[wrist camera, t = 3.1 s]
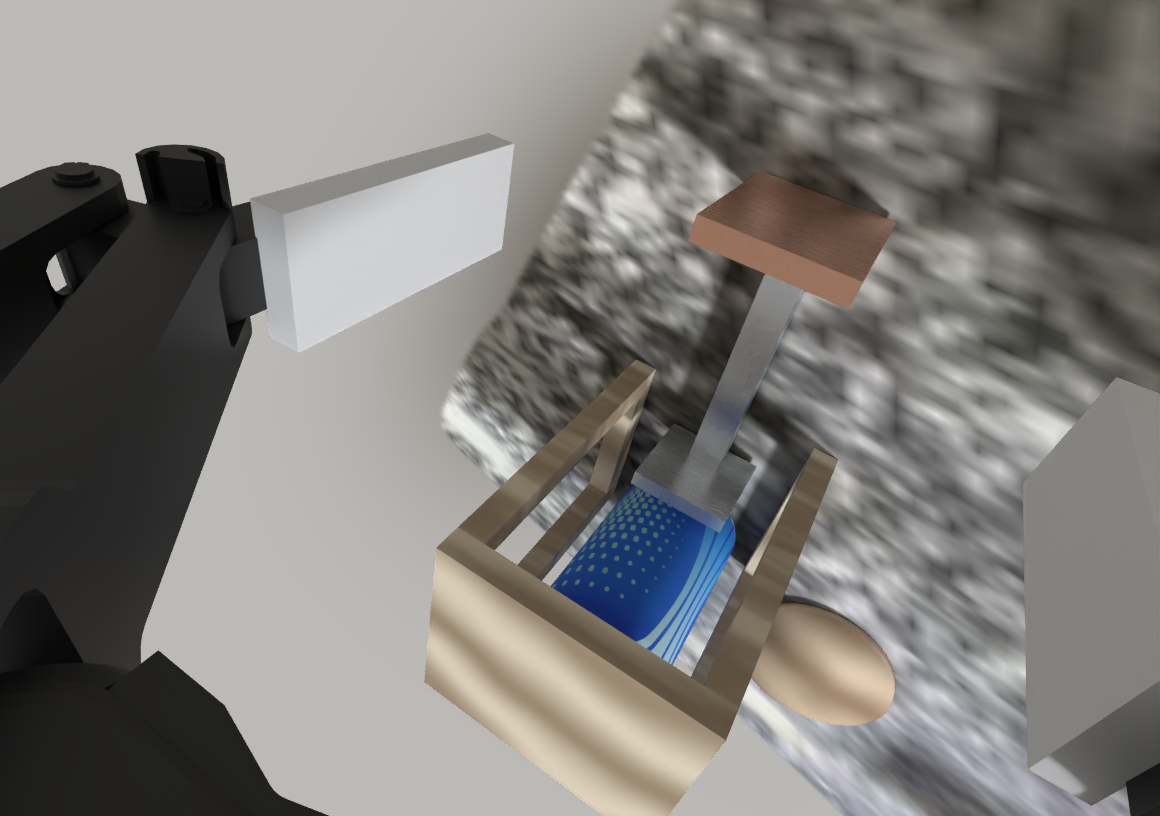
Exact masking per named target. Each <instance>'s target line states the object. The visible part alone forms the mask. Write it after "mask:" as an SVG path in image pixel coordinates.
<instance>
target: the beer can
mask: <svg viewBox="0 0 1160 816" xmlns="http://www.w3.org/2000/svg"><path fill="white" fill-rule="evenodd" d="M734 544H735V528H734V524H733V521H732V518H731V516H730V515H729V517H728V519H727V520H726V522H725V524H724V526H723V527H722V529H721V531H720V533H718V532H717V531H715V530H713V529H711V528H709V527H708V526H706V525H704V524H702V523H701V522H699V521H697V520H695V519H693V518H692V517H690V516H688V515H686V514H685V513H683V512H681V511H679V510H678V509H676V508H674V507H672V506H670V505H669V504H667V503H665V502H663V501H662V500H660V499H658V498H656V497H655V496H653V495H651V494H649V493H647V492H646V491H644V490H642V489H640V488H639V487H637V486H635V485H633V484H632V485H631V487H630V488H629V489H628V490H627V492H626V493H625V494H624V495H623V497H622V498H621V499H620V500H619V502H618V503H617V504H616V505H615V507H614V508H613V509H612V510H611V512H610V513H609V514H608V515H607V517H606V518H605V519H604V520H603V522H602V523H601V524H600V525H599V527H598V528H597V529H596V530H595V532H594V533H593V534H592V535H591V537H590V538H589V539H588V540H587V542H586V543H585V544H584V545H583V547H582V548H581V549H580V550H579V552H578V553H577V554H576V555H575V557H574V558H573V559H572V561H571V562H570V563H569V564H568V565H567V567H566V568H565V569H564V570H563V572H562V573H561V574H560V575H559V577H558V578H557V579H556V580H555V582H554V583H553V584H552V585H551V587H552V588H553V589H555V590H556V591H558V592H560V593H561V594H563V595H564V596H566V597H567V598H569V599H570V600H572V601H573V602H575V603H577V604H578V605H580V606H581V607H583V608H584V609H586V610H587V611H589V612H591V613H592V614H594V615H595V616H597V617H598V618H600V619H601V620H603V621H604V622H606V623H608V624H609V625H611V626H612V627H614V628H615V629H617V630H618V631H620V632H621V633H623V634H625V635H626V636H628V637H629V638H631V639H632V640H634V641H635V642H637V643H639V644H640V645H642V646H643V647H645V648H646V649H648V650H649V651H651V652H652V653H654V654H656V655H657V656H659V657H660V658H662V659H663V660H665V661H666V662H668V663H670V664H671V665H673V663H674V661H675V659H676V657H677V656H678V654H679V652H680V650H681V648H682V646H683V644H684V642H685V640H686V638H687V636H688V635H689V633H690V631H691V629H692V627H693V625H694V623H695V621H696V619H697V617H698V615H699V614H700V612H701V610H702V608H703V606H704V604H705V602H706V600H707V598H708V596H709V594H710V593H711V591H712V589H713V587H714V585H715V583H716V581H717V579H718V577H719V575H720V573H721V572H722V570H723V568H724V566H725V564H726V562H727V560H728V558H729V556H730V554H731V552H732V550H733V548H734Z"/></svg>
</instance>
